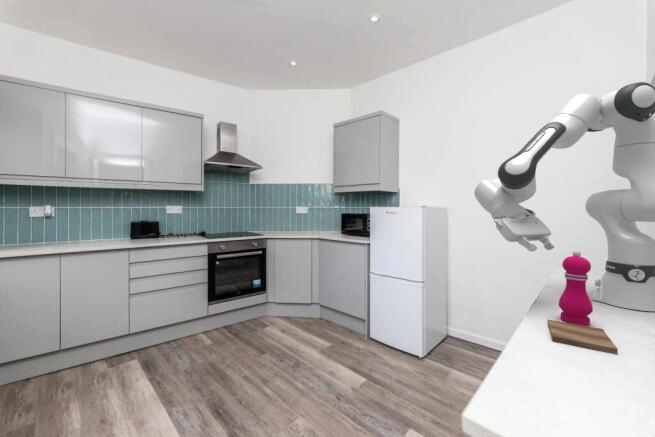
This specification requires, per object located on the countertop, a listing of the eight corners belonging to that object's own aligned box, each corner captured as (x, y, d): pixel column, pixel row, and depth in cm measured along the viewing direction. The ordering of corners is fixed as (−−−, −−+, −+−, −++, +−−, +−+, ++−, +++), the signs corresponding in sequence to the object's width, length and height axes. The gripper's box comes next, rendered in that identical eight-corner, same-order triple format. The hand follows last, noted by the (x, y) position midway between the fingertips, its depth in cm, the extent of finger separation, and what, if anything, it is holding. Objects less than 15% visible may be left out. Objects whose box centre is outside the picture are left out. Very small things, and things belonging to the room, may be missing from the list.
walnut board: (547, 323, 78) (547, 319, 78) (602, 333, 72) (602, 328, 72) (552, 341, 67) (552, 336, 67) (617, 354, 61) (617, 349, 61)
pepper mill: (599, 328, 76) (601, 252, 75) (568, 325, 77) (570, 251, 77) (581, 318, 83) (583, 249, 82) (552, 316, 84) (554, 248, 84)
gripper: (498, 209, 89) (531, 244, 81) (535, 210, 98) (569, 241, 90) (484, 223, 93) (514, 257, 85) (521, 223, 102) (552, 254, 94)
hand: (542, 249), depth 87 cm, fingers open, 8 cm apart
